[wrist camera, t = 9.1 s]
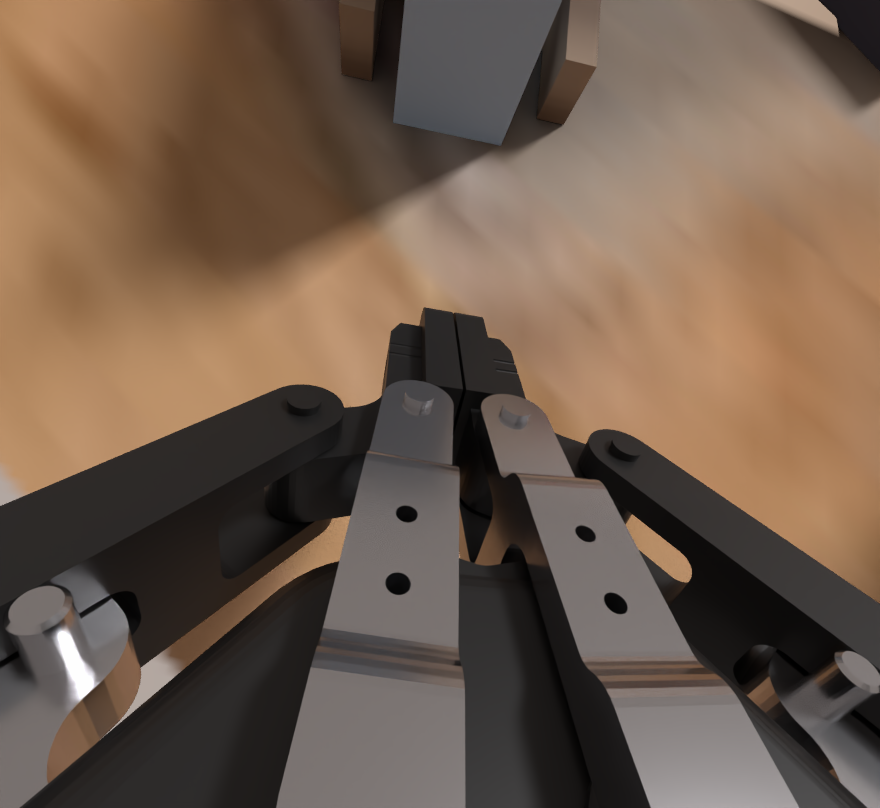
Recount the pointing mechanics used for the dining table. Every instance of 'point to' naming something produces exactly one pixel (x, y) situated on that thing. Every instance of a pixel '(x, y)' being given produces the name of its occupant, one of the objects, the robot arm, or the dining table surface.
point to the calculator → (859, 24)
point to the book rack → (562, 57)
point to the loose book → (468, 63)
